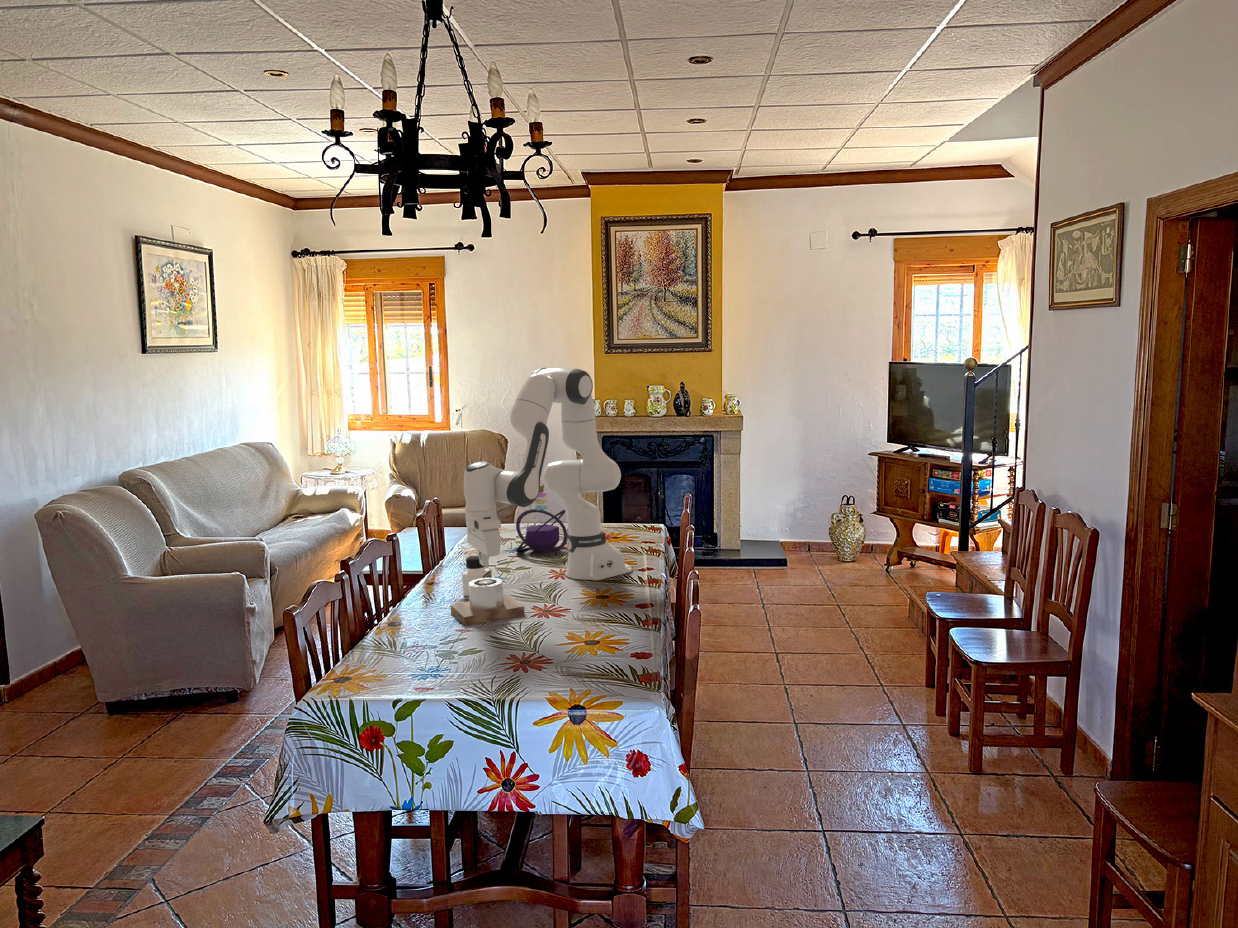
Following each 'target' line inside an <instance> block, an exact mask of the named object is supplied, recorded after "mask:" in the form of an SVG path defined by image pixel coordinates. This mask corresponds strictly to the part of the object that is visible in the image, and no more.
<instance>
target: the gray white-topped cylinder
mask: <svg viewBox="0 0 1238 928" xmlns="http://www.w3.org/2000/svg"><path fill="white" fill-rule="evenodd" d="M492 584H494V581H493V580H482V581H479V582H477V585H480V586H484V585H492Z"/></svg>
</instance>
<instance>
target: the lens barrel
mask: <svg viewBox="0 0 1238 928" xmlns="http://www.w3.org/2000/svg"><path fill="white" fill-rule="evenodd" d="M482 580H493V581H494V584H492V585H484V586H480V585H477V582H479V581H482ZM468 588H469V596H468V598H469V599H468V601H469V602H470V608H471V609H473V610H479V611H484V610H493V609H497V608H500V607H502V606H503V604H504V596H503V595H504V582H503V580H502V579H501V578H497V577H491V578H480V579H475V580H473V581H470V582H469V584H468Z"/></svg>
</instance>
